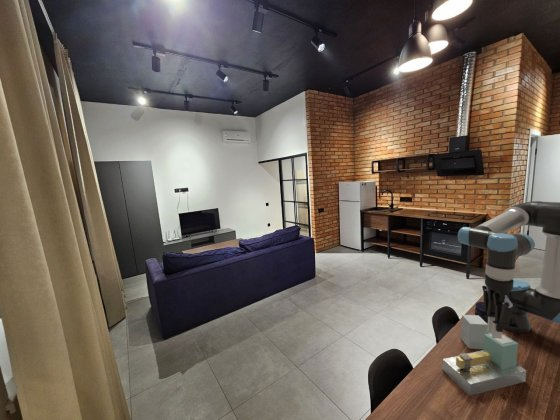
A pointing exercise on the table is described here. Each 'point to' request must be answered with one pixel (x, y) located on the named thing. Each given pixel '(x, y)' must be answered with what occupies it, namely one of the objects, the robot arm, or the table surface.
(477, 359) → the hammer with yellow handle
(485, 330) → the supplement box
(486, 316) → the storage jar
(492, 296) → the robot arm
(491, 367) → the white base platform
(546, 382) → the table surface
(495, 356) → the mint green box
